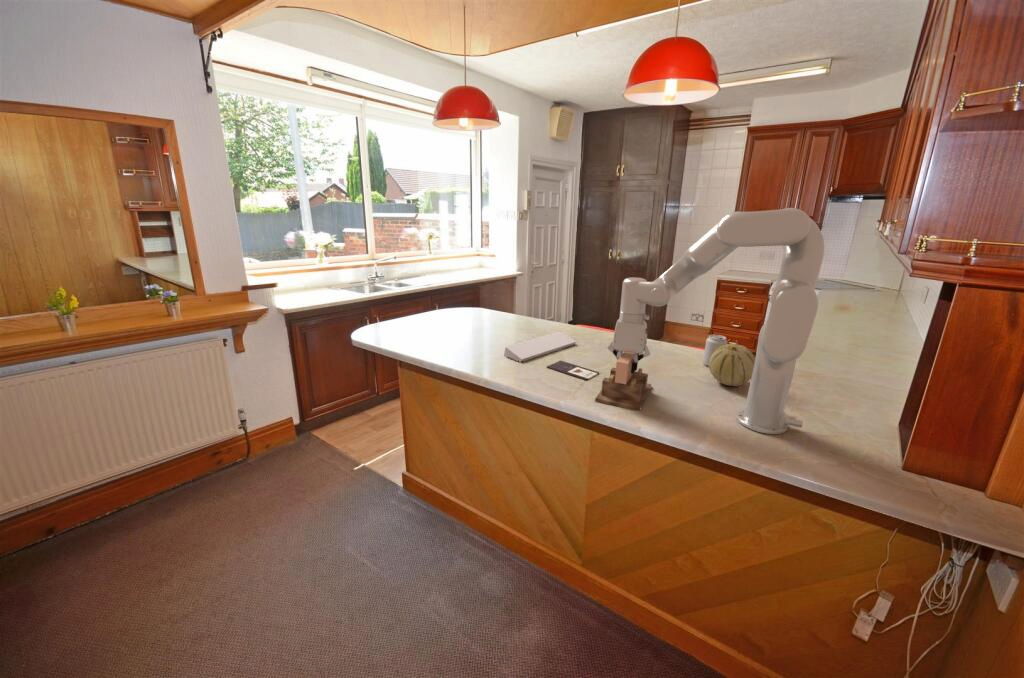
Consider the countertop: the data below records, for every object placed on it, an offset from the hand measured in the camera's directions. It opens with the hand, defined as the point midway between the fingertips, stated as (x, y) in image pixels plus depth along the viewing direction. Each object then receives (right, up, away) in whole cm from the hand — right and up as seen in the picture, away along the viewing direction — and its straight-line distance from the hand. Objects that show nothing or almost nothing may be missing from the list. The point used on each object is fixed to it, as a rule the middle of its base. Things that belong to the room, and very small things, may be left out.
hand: (626, 370), depth 136 cm
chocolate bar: (-15, -2, +22) cm, 26 cm away
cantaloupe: (+39, -6, +11) cm, 41 cm away
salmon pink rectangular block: (0, -1, 0) cm, 1 cm away
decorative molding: (-25, +5, +44) cm, 51 cm away
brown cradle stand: (0, -8, +3) cm, 8 cm away
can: (+42, 0, +28) cm, 50 cm away
